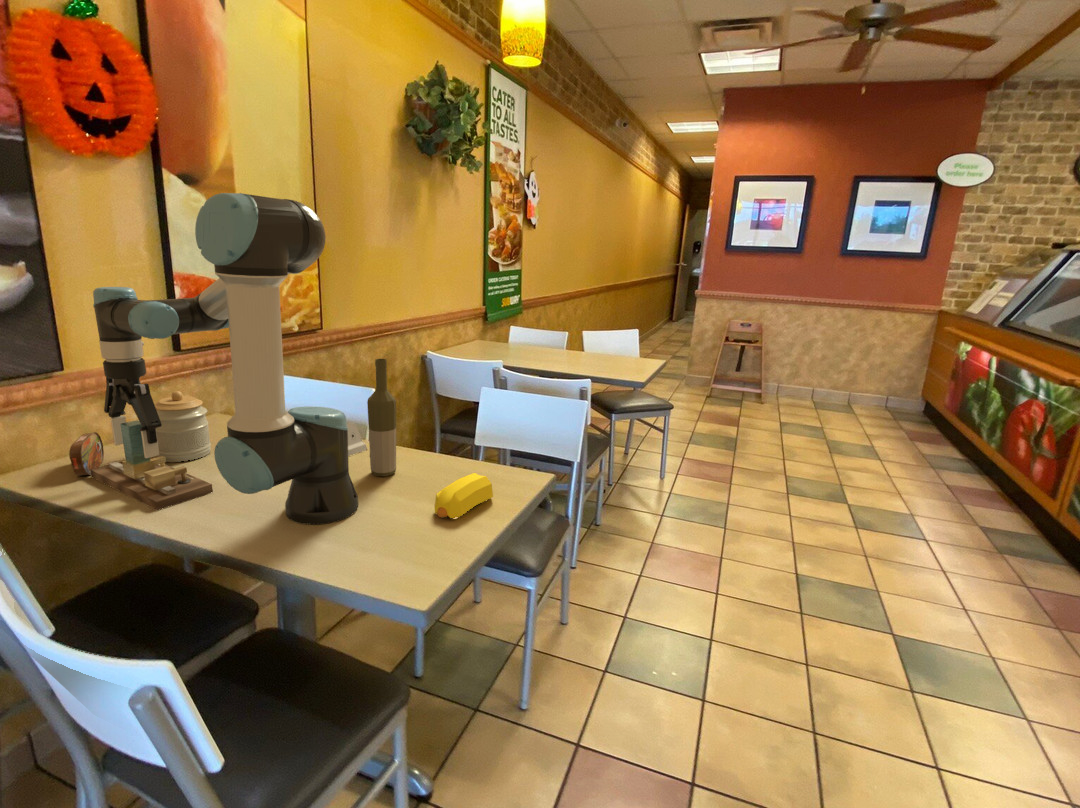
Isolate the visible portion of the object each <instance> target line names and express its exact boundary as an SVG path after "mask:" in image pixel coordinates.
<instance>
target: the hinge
mask: <svg viewBox="0 0 1080 808" xmlns="http://www.w3.org/2000/svg"><path fill="white" fill-rule="evenodd" d="M346 423H347V428H348V456H349V457H351V456H350V455H352V456H354V455H353V454H355V455H357V454H356V453H358V454H360V453H363V452H365V450H366V451H368V446H367V444H366V443H365V442H364V441H363V439H362V437H361V433H359V432H360V431H359V430H358V427H357V425H356V423H353V422H346ZM362 451H363V452H362ZM359 452H360V453H359Z"/></svg>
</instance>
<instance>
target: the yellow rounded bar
mask: <svg viewBox="0 0 1080 808" xmlns="http://www.w3.org/2000/svg"><path fill="white" fill-rule="evenodd" d="M493 491H494V490H493V485H492V482H491V481H490V479H489V478H488V476H486V475H479V473H476V472H473V473H471V474H468V475H465V476H463V477H460V478H458V479H456V480H454V481H453V482H452V483H450V484H449V485H447V486H445V487H444V488H442V489H441V490H440V491H438V492H436V495H435V501H434V505H433V507H434V514H435V513H437V516H438V518H440V517H446V518H448V517H449V518H450V519H451V518H455V517H459V518H461V517H462V516H464V515H465V514H466V513H468V512H469V511H471V510H472V509H474V508H475V507H474V506H476V505H478V504H480V503H482V502H484V501H486V500H488V499H489V500H490V498H491V499H492V498H493V497H494V492H493ZM489 500H488V501H489ZM486 502H487V501H486ZM484 503H485V502H484ZM482 504H483V503H482ZM480 505H481V504H480ZM478 506H479V505H478ZM473 507H474V508H473ZM476 507H477V506H476ZM470 509H471V510H470ZM467 511H468V512H467ZM463 514H464V515H463ZM447 516H448V517H447ZM460 516H461V517H460Z"/></svg>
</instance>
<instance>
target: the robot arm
mask: <svg viewBox="0 0 1080 808" xmlns="http://www.w3.org/2000/svg"><path fill="white" fill-rule="evenodd" d="M194 232H195V233H194V234H195V242H196V246H197V248H198V249H199V250H200V254H201V256H202V257H203V258H204V259H205V260H206V261H207V262H209V263H210V264H213V266H214V267H213V268H214V275H216V276H217V277H218V279H216V280H215V281H214V282H212V284H210V285H208V287H206V288H205V289H204V290H203V291H201V292H200V293H199V294H197V295H196V296H194V297H183V298H169V299H167V298H165V299H149V300H148V299H147V300H145V299H138V297H137V293H136V291H135V290H134V288H131V287H127V286H101V287H96V288H94V290H92V291H93V292H92V295H93V305H92V306H93V308H94V313H95V321H96V326H97V333H98V338H99V340H98V343H99V350H100V356H101V358H102V359H103V360H104V361H102V366H103V373H104V376H105V382H106V389H105V398H104V406H103V407H104V408H103V412H104V413H105V414H107V415H108V417H109V418H110V423H111V424H110V425H111V431H112V437H113V444H114V445H115V446H120V445H123V438H122V431H121V425H120V424H121V423H126V422H127V420H126V419H127V417H126V416H125V415H126V411H125V408H126V406H127V404H128V405H129V406H131V408H132V409H133V411H134V413H135V415H136V418H137V420H138V421H140V423H141V425H142V427H141V429H140V431H141V435H142V442H143V449H144V456H145V458H152V457H153V458H155V457H156V456H158V455H159V448H158V440H157V432H156V428H157V427H161V426H162V424H161V421H160V419H159V416H158V413H157V410H156V408H155V405H154V404H155V403H154V400H153V398H152V395H151V390H150V385H149V383H142V384H141V381H140V378H141V377H144V376H145V375H146V374H147V367H146V360H145V359H144V358H142V357H143V356H144V346H145V342H144V341H143V340H142V337H143V338H147V339H150V340H155V339H156V340H164V339H167V338H169V337H171V336H172V335H179V334H180V335H181V334H188V333H197V332H198V333H199V332H200V333H201V332H209V331H215V332H216V331H219V330H223V329H228V333H229V346H230V357H231V358H230V360H231V361H230V362H231V371H232V372H231V373H232V385H233V397H234V398H233V399H234V412H235V413H234V414H233V416H230V418H229V419H228V421H227V422H226V430H227V436H225V437H222V438H221V439H220V440H218V441H217V443H216V445H214V446H215V447H214V450H213V451H214V454H213V455H214V460H215V464H216V466H217V469H218V471H219V474H221V476H222V478H223V479H224V480H225V481H226V483H227V484H228V485H229V486H230V487H232V488H233V489H234V490H236V491H237V492H239V493H242V494H246V495H253V494H257V493H259V492H262V491H263V492H264V491H269V490H271V489H272V488H273V487H277V486H278V485H282V484H283V483H286V482H289V481H290V482H291V483H290V486H289V490H288V494H287V498H286V500H285V503H284V504H285V505H284V507H285V516H286V517H287V518H288V519H289V520H290V521H292V522H295V523H298V524H304V525H325V524H330V523H334V521H335V522H339V521H341V519H342V520H344V519H346V517H347V518H349V517H351V516H352V515H353V514H355V513H356V512H357V510H358V509H359V497H358V493H357V491H356V488H355V485H354V483H353V481H352V479H351V476H350V472H349V468H350V467H349V457H348V428H347V423H348V422H347V417H346V415H345V413H344V412H343V411H342V410H339V409H335V408H332V407H324V406H299V407H292V408H290V409H289V410H288V412H287V410H286V400H285V399H286V398H285V397H286V395H285V375H284V374H285V373H284V372H285V371H284V355H283V335H282V315H281V314H282V313H281V297H280V296H281V294H280V293H281V292H280V286H281V284H282V283H283V282H284V281H285V280H286V279H287V278H289V275H297V274H301V273H302V272H303V271H305V270H306V269H308V268H310V267H311V266H312V265H313V264H314V263H316V261H317V260H318V259H320V257H321V255H322V254H323V252H324V249H325V245H326V237H327V236H326V231H325V227H324V224H323V222H322V220H321V218H320V217H319V216H318V215H317V213H316V212H315V211H314V210H313V209H312V208H310V207H309V206H307V205H306V204H304V203H302V202H300V201H297V200H294V199H287V198H276V197H270V196H262V195H256V194H249V193H242V192H239V193H235V192H232V193H231V192H230V193H229V192H220V193H217V194H213V195H212V196H210V197H209V198H208V199H206V201H205V202H204V204H203V205H201V207H200V209H199V211H198V213H197V216H196V220H195V227H194ZM357 508H358V509H357ZM355 511H356V512H355ZM354 512H355V513H354ZM352 513H353V514H352ZM351 514H352V515H351ZM348 516H349V517H348ZM343 518H344V519H343ZM338 520H339V521H338Z"/></svg>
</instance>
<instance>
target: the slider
mask: <svg viewBox="0 0 1080 808" xmlns="http://www.w3.org/2000/svg"><path fill="white" fill-rule="evenodd" d="M120 425H121V431H122V438H123V444H122V445H123V449H124V457H125V460H122V461H121V462H122V464H123V471H124V474H125V475H127V476H129V477H131V478H134V479H137V478H141V477H144V472H147V471H150V470H154V469H155V465H157V464H160V466H161V467H165V465H166V464H165V463H167V462H166V458H165V457H163V456H160V457H153V458H151V457H150V458H151V459H150V458H145V456H144V449H143V442H142V435H141V431H140V429H141V427H142V425H141V423H140V421H139V419H137V420H132V421H128V422H127V421H126V423H121V424H120Z"/></svg>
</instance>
